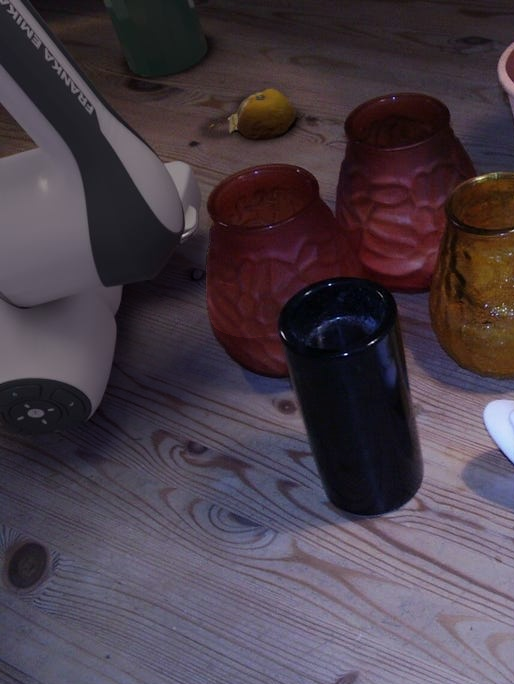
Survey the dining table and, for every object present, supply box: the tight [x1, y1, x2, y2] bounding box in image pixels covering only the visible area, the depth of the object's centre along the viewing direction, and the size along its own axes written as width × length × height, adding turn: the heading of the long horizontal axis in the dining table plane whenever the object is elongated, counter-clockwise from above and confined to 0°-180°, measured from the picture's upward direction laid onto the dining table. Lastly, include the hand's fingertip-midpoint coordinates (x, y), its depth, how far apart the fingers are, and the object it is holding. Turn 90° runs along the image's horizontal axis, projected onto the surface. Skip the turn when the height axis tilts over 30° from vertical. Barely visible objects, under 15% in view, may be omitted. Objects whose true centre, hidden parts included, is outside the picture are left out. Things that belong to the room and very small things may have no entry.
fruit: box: [207, 87, 297, 141], centre depth 99 cm, size 8×8×4 cm
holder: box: [102, 0, 209, 78], centre depth 108 cm, size 9×9×10 cm
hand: (83, 165), depth 87 cm, fingers open, 6 cm apart
